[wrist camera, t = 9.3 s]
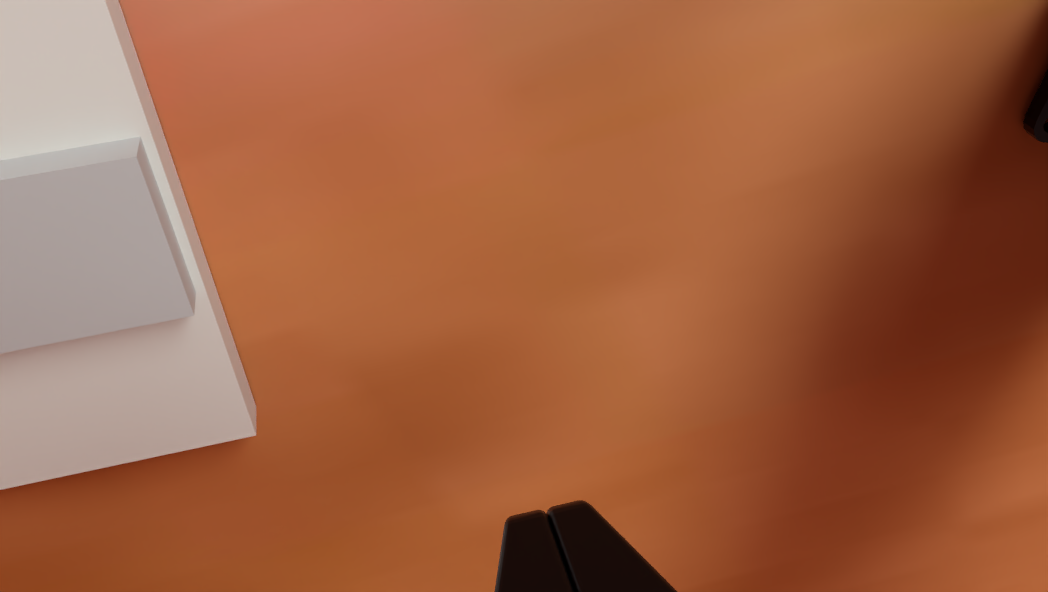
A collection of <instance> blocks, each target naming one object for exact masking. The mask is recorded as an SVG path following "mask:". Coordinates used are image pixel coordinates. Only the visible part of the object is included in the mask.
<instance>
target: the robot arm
mask: <svg viewBox="0 0 1048 592" xmlns="http://www.w3.org/2000/svg"><path fill="white" fill-rule="evenodd" d="M1047 118H1048V70H1047V72H1046V74H1045V76H1044V78H1043V80H1042V82H1041V84H1040V86H1039V88H1038V90H1037V92H1036V94H1035V96H1034V98H1033V100H1032V102H1031V104H1030V106H1029V108H1028V110H1027V113H1026V115H1025V118H1024V121H1023V124H1024V129H1025V130H1026V132H1027V133H1028V134H1030V135H1031V136H1032V137H1034V138H1035V139H1037V140H1038V141H1041V142H1046V143H1048V122H1046V123H1045V121H1046V120H1047ZM1044 123H1045V124H1044ZM495 592H677V591H676V590H675V589H674V588H673V587H672V586H671V585H670V584H669V583H668V582H667V581H666V580H665V579H664V578H663V577H662V576H661V575H660V574H659V573H658V572H657V571H656V570H655V569H654V568H653V567H652V566H651V565H650V564H649V563H648V562H647V561H646V560H645V559H644V558H643V557H642V556H641V555H640V554H639V553H638V552H637V551H636V550H635V549H634V548H633V547H632V546H631V545H630V544H629V543H628V542H627V541H626V540H625V539H624V538H623V537H622V536H621V535H620V534H619V533H618V532H617V531H616V530H615V529H614V528H613V527H612V526H611V525H610V524H609V523H608V522H607V521H606V520H605V519H604V518H603V517H602V516H601V515H600V514H599V513H598V512H597V511H596V510H595V509H594V508H593V507H592V506H591V505H590V504H589V503H587V502H585V501H582V500H580V501H574V502H570V503H566V504H561V505H557V506H553V507H551V508H549V510H548V511H547V514H546V513H545V512H544V511H542V510H535V511H531V512H527V513H522V514H518V515H514V516H510V517H509V518H508V519H507V520H506V522H505V525H504V532H503V539H502V545H501V552H500V559H499V566H498V573H497V580H496V586H495Z"/></svg>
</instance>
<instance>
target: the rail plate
mask: <svg viewBox="0 0 1048 592" xmlns="http://www.w3.org/2000/svg"><path fill="white" fill-rule="evenodd" d="M251 436H256V405H255V402H254V399H253V396H252V393H251V390H250V387H249V384H248V381H247V378H246V375H245V372H244V369H243V366H242V363H241V360H240V358H239V355H238V352H237V349H236V346H235V343H234V340H233V337H232V334H231V331H230V328H229V325H228V322H227V319H226V316H225V313H224V310H223V307H222V305H221V302H220V299H219V296H218V293H217V290H216V287H215V284H214V281H213V278H212V275H211V272H210V269H209V266H208V263H207V260H206V257H205V254H204V251H203V249H202V246H201V243H200V240H199V237H198V234H197V231H196V228H195V225H194V222H193V219H192V216H191V213H190V210H189V207H188V204H187V201H186V198H185V195H184V193H183V190H182V187H181V184H180V181H179V178H178V175H177V172H176V169H175V166H174V163H173V160H172V157H171V154H170V151H169V148H168V145H167V142H166V140H165V137H164V134H163V131H162V128H161V125H160V122H159V119H158V116H157V113H156V110H155V107H154V104H153V101H152V98H151V95H150V92H149V89H148V86H147V84H146V81H145V78H144V75H143V72H142V69H141V66H140V63H139V60H138V57H137V54H136V51H135V48H134V45H133V42H132V39H131V36H130V33H129V31H128V28H127V25H126V22H125V19H124V16H123V13H122V10H121V7H120V4H119V1H118V0H0V490H2V489H7V488H11V487H16V486H21V485H25V484H30V483H35V482H40V481H44V480H49V479H54V478H58V477H63V476H68V475H73V474H77V473H82V472H87V471H91V470H96V469H101V468H105V467H110V466H115V465H120V464H124V463H129V462H134V461H138V460H143V459H148V458H153V457H157V456H162V455H167V454H171V453H176V452H181V451H185V450H190V449H195V448H200V447H204V446H209V445H214V444H218V443H223V442H228V441H233V440H237V439H242V438H247V437H251Z"/></svg>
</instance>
